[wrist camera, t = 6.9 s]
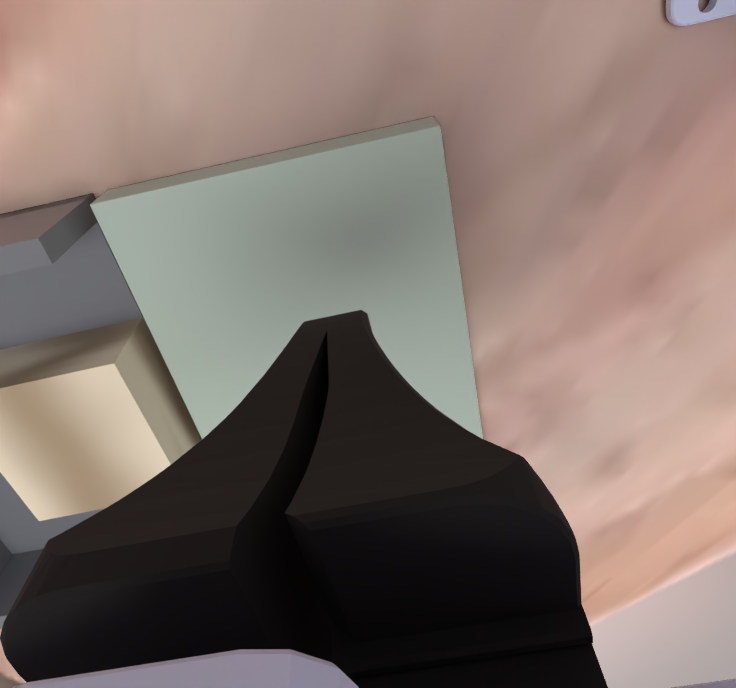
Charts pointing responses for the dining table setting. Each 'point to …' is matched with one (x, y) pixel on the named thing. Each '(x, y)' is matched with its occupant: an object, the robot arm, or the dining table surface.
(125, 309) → the box
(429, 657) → the robot arm
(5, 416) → the birch tile
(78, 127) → the dining table surface
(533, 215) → the dining table surface
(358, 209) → the far plate
